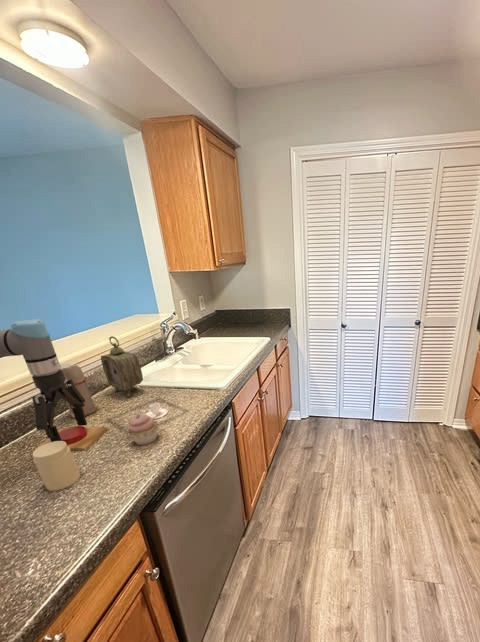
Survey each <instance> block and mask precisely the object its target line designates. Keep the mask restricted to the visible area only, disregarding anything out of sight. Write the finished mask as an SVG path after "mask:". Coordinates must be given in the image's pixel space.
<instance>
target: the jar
mask: <svg viewBox="0 0 480 642" xmlns="http://www.w3.org/2000/svg"><path fill="white" fill-rule="evenodd" d="M36 448H37V447H36ZM32 458H33V459H32V460H33V464H34V465H35V467H36V470H37V472H38V474H39V477H40V478H41V480H42V482H43V485H44V486H45V489H46V490H47V491H50V492H51V491H59V490H63V489H65V488H68V487H70V486H72V485H73V484H75V483H76V482H77V481H78V480H79V479H80V477H81V472H80V470H79V468H78V465H77V463H76V460H75V458H74V455H73V453H72V451H71V450H70V448H69V446H67V444H66V442H64V441H54V442H50V443H47V444H45V445H42V446H40V447H39V448H37V449H36V450H35V449H34V450H33V452H32Z"/></svg>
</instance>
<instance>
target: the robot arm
mask: <svg viewBox="0 0 480 642" xmlns="http://www.w3.org/2000/svg"><path fill="white" fill-rule="evenodd" d="M10 327H11V329H0V359H2V358H7V357H16V356H22V357H23V359H24V361H25V364H26V367H27V369H28V371H29V374H30V375H31V378H32V381H33V384H34V386H35V387H36V388H37V389H38V390H39V391H40V392H39V393H40V394H39V395H37V396H32V399H31V400H32V402H33V405H34V417H35V426H36V427H35V428H36V430H37V431H44V432H45V435H46V436H47V439H49V438H50V440H51V442H54V441H62V440H61V438H60V435H59V433H58V431H59V430H58V428H57V426H56V425H54V420H55V414H56V413H55V412H56V406H58V402H60V400H64V401H65V402H66V403H67V402H68V403H69V404H70V405H72V406H73V407H75V408H72V410H73V413H74V416H75V418H74V419H75V421H76V423H77V426H83V427H85V426H87V425H88V423H87V419H86V416H84V412H83V409H82V407H84V406H85V404H84V402H85V399H84V398H83V397H82V395H81V394H80V393H79V391H78V390H77V389H76V387H75V386H74V384H73V381H72V380H66V379H65V376H64V374H63V371H62V370H61V369H60V368H61V366H60V365H61V363H60V362H59V358H58V356H57V352H56V351H55V347H54V345H53V342H52V339H51V336H50V335H51V334H50V332H49V330H48V328H47V326H46V324H45V322H44V321H43V320H42V319H38V318H33V319H32V318H31V319H23V320H18V321H14V322H12V323H11V324H10ZM66 390H67V391H66Z"/></svg>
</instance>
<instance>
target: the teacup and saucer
mask: <svg viewBox="0 0 480 642" xmlns="http://www.w3.org/2000/svg"><path fill="white" fill-rule="evenodd" d="M149 409H150V410H149V411H147V412H146V413H145V414H146V415H147V416H150V417H152V418H153V419H154V420H155V419H156V420H157V419H160V418H162V417H165V416H166V415H168V412H169V410H168V409H166V408H161V404H160V403H159V402H154V403H151V404H150V405H149ZM160 413H161V414H160Z"/></svg>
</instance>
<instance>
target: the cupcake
mask: <svg viewBox="0 0 480 642" xmlns="http://www.w3.org/2000/svg"><path fill="white" fill-rule="evenodd" d="M158 429H159V423H158V421H156V420H155V419H153V418H152V417H150V416H147V415H146V413H140V412H139V413H137V414H136V415H135V416H134V417H132V418H131V420H130V423H129V424H128V425H127V430H126V432H127V435H128V436H129V437H131V438H132V440H133V442H135V444H136V445H138V446H147V445H150V444H152V443H153V442H155V441H156V440H157V438H158Z"/></svg>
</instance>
